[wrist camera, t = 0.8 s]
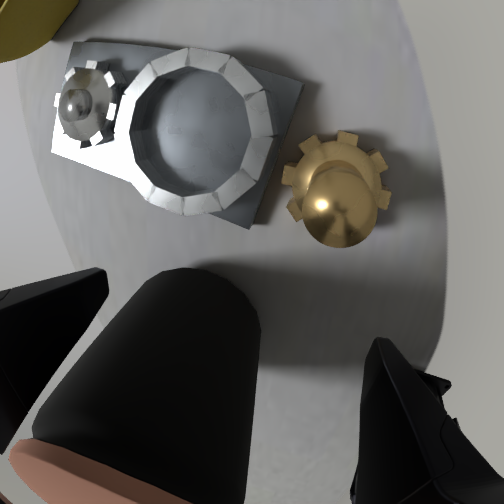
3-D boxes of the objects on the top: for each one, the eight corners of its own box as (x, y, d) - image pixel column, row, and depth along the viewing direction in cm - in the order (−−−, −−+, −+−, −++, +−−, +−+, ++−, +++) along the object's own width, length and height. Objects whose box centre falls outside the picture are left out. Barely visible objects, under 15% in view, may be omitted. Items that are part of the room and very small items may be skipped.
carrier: (305, 82, 16) (302, 76, 14) (251, 227, 21) (242, 240, 19) (82, 40, 18) (61, 37, 15) (59, 151, 22) (39, 157, 20)
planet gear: (395, 145, 16) (430, 159, 10) (370, 238, 19) (385, 293, 13) (296, 120, 17) (278, 119, 11) (278, 215, 20) (253, 261, 14)
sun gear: (138, 66, 17) (115, 62, 15) (117, 155, 20) (93, 162, 18) (76, 59, 17) (53, 58, 15) (61, 136, 21) (38, 141, 18)
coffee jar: (122, 330, 26) (15, 484, 9) (169, 235, 22) (-7, 408, 5) (221, 387, 27) (181, 564, 10) (288, 308, 24) (296, 545, 7)
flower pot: (103, -5, 16) (23, -26, 8) (47, 68, 19) (-31, 72, 11) (72, -39, 14) (6, -56, 6) (24, 25, 17) (-42, 25, 10)
